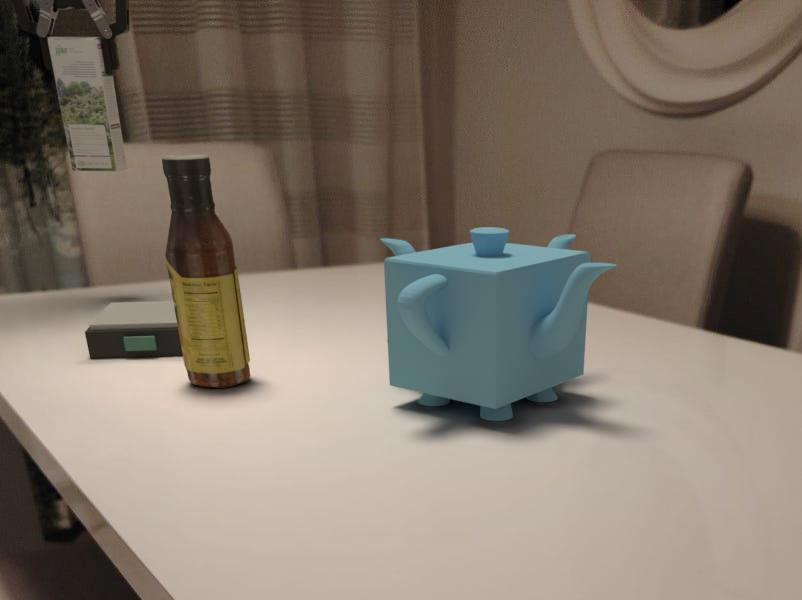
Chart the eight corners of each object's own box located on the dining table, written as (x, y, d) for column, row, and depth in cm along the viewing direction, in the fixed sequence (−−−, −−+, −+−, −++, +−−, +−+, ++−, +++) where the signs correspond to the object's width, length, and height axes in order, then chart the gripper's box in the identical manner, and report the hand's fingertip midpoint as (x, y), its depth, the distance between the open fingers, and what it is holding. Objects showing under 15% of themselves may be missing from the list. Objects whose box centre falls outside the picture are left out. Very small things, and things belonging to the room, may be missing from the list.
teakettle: (396, 435, 78) (388, 245, 71) (384, 375, 94) (376, 216, 87) (616, 426, 81) (631, 241, 73) (567, 369, 96) (575, 213, 89)
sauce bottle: (209, 371, 96) (178, 152, 85) (264, 376, 94) (238, 153, 84) (172, 388, 90) (134, 156, 80) (230, 393, 89) (198, 158, 78)
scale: (88, 360, 100) (82, 327, 98) (112, 331, 111) (107, 301, 109) (195, 356, 101) (190, 323, 99) (207, 328, 112) (203, 299, 111)
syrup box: (129, 168, 123) (108, 38, 116) (117, 172, 118) (94, 35, 111) (84, 168, 123) (60, 37, 116) (71, 172, 118) (45, 34, 111)
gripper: (124, -90, 111) (148, 76, 119) (-4, -94, 109) (30, 75, 117) (113, -101, 105) (139, 75, 113) (-24, -106, 103) (14, 74, 111)
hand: (83, 74), depth 115 cm, fingers closed on syrup box, 6 cm apart
